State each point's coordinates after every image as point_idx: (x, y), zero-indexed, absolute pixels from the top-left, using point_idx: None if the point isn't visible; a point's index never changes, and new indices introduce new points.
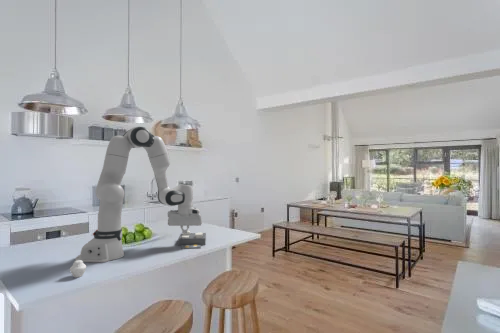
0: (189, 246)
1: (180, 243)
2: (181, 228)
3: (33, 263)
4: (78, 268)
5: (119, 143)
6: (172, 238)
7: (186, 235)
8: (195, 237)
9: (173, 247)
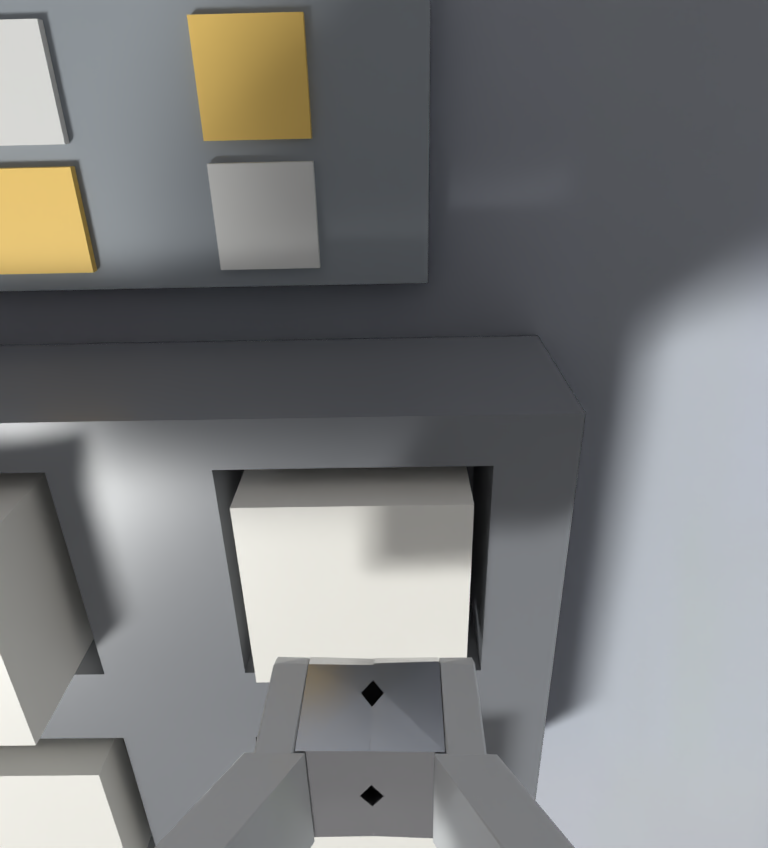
0: (187, 129)
1: (482, 359)
2: (545, 842)
3: None
4: None
5: None
6: (659, 823)
7: None
8: (8, 502)
9: (661, 183)
